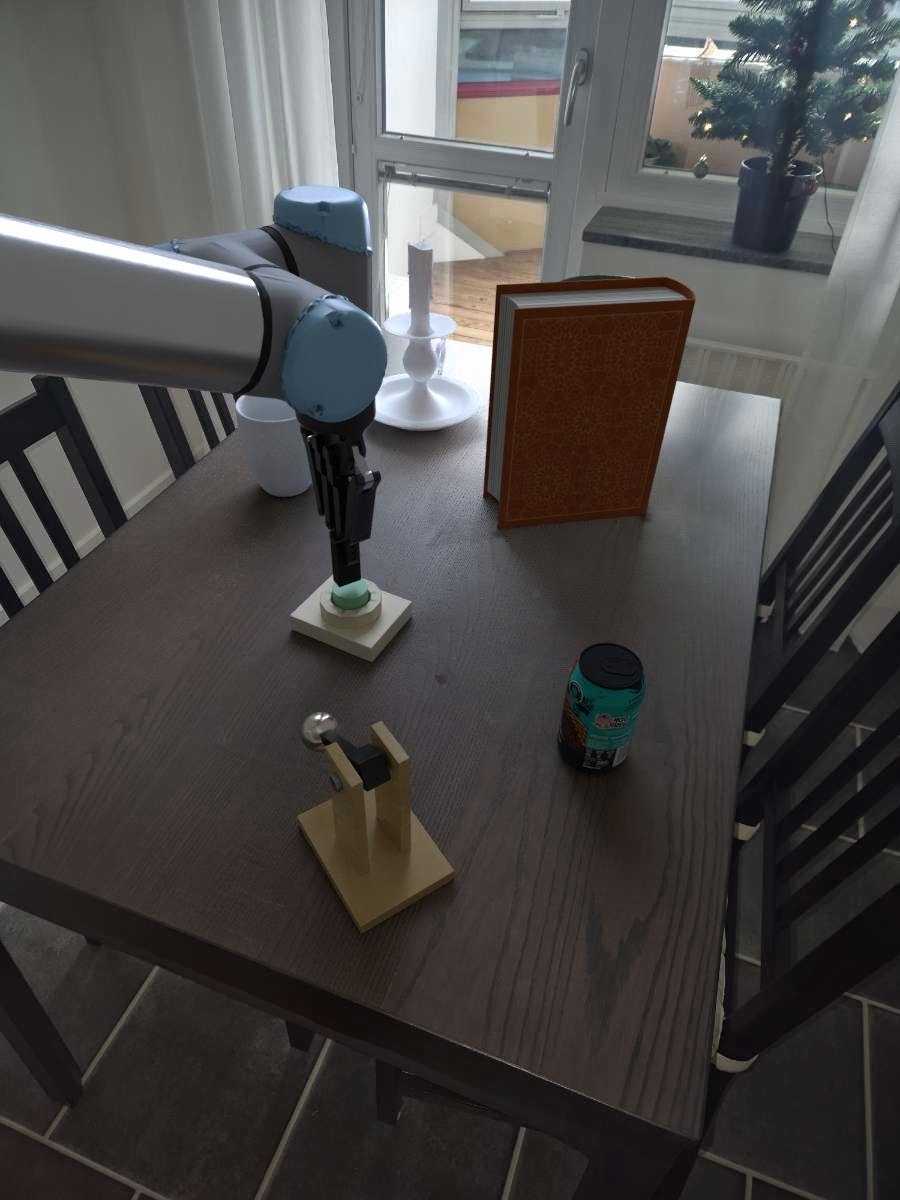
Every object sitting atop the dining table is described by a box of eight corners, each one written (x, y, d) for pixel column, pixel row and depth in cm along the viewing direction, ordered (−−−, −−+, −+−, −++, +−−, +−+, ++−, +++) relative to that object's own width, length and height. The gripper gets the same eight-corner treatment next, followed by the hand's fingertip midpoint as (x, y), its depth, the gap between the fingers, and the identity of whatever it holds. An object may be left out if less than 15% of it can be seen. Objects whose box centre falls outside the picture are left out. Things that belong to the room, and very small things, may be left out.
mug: (340, 457, 118) (334, 377, 109) (359, 494, 110) (354, 411, 101) (243, 472, 113) (228, 390, 105) (255, 512, 106) (240, 427, 97)
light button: (326, 603, 86) (325, 591, 85) (346, 583, 89) (345, 572, 88) (356, 614, 85) (355, 603, 83) (375, 594, 87) (374, 583, 86)
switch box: (291, 629, 88) (287, 603, 85) (335, 586, 94) (333, 560, 91) (372, 662, 84) (370, 636, 81) (412, 615, 90) (412, 589, 88)
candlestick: (498, 389, 137) (510, 221, 119) (463, 455, 119) (471, 269, 101) (390, 373, 141) (386, 209, 123) (340, 435, 123) (326, 252, 105)
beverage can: (559, 716, 79) (574, 632, 71) (627, 727, 78) (650, 643, 70) (553, 771, 74) (569, 686, 66) (626, 783, 73) (651, 699, 65)
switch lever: (301, 752, 70) (289, 717, 69) (336, 736, 71) (325, 701, 70) (360, 803, 57) (347, 761, 56) (402, 782, 59) (389, 741, 58)
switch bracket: (298, 824, 68) (279, 724, 59) (385, 779, 72) (380, 680, 63) (361, 934, 61) (350, 840, 52) (454, 878, 65) (460, 781, 56)
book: (497, 529, 104) (515, 309, 84) (483, 497, 110) (496, 284, 90) (652, 513, 108) (703, 299, 88) (630, 482, 114) (674, 276, 94)
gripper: (405, 397, 67) (406, 601, 82) (338, 346, 75) (350, 540, 90) (328, 417, 64) (343, 625, 79) (266, 361, 72) (291, 559, 87)
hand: (347, 579), depth 85 cm, fingers closed
